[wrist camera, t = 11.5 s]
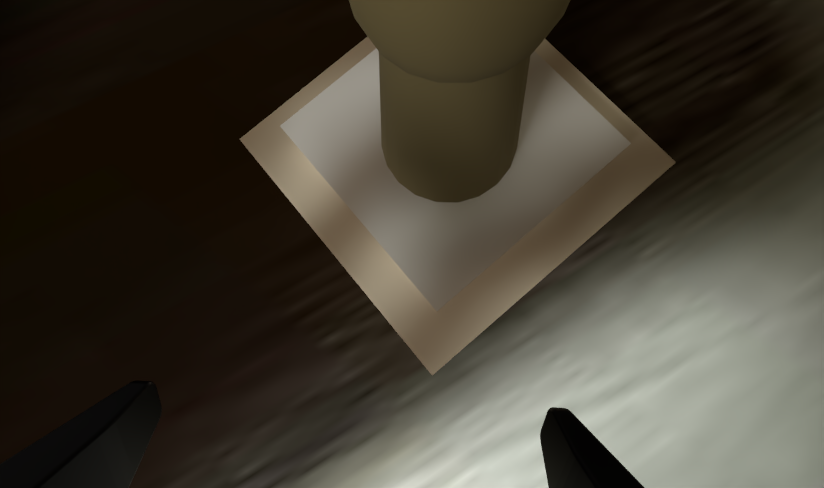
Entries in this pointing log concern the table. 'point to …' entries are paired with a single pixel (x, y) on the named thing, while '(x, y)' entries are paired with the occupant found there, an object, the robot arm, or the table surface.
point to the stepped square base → (454, 221)
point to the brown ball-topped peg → (453, 87)
